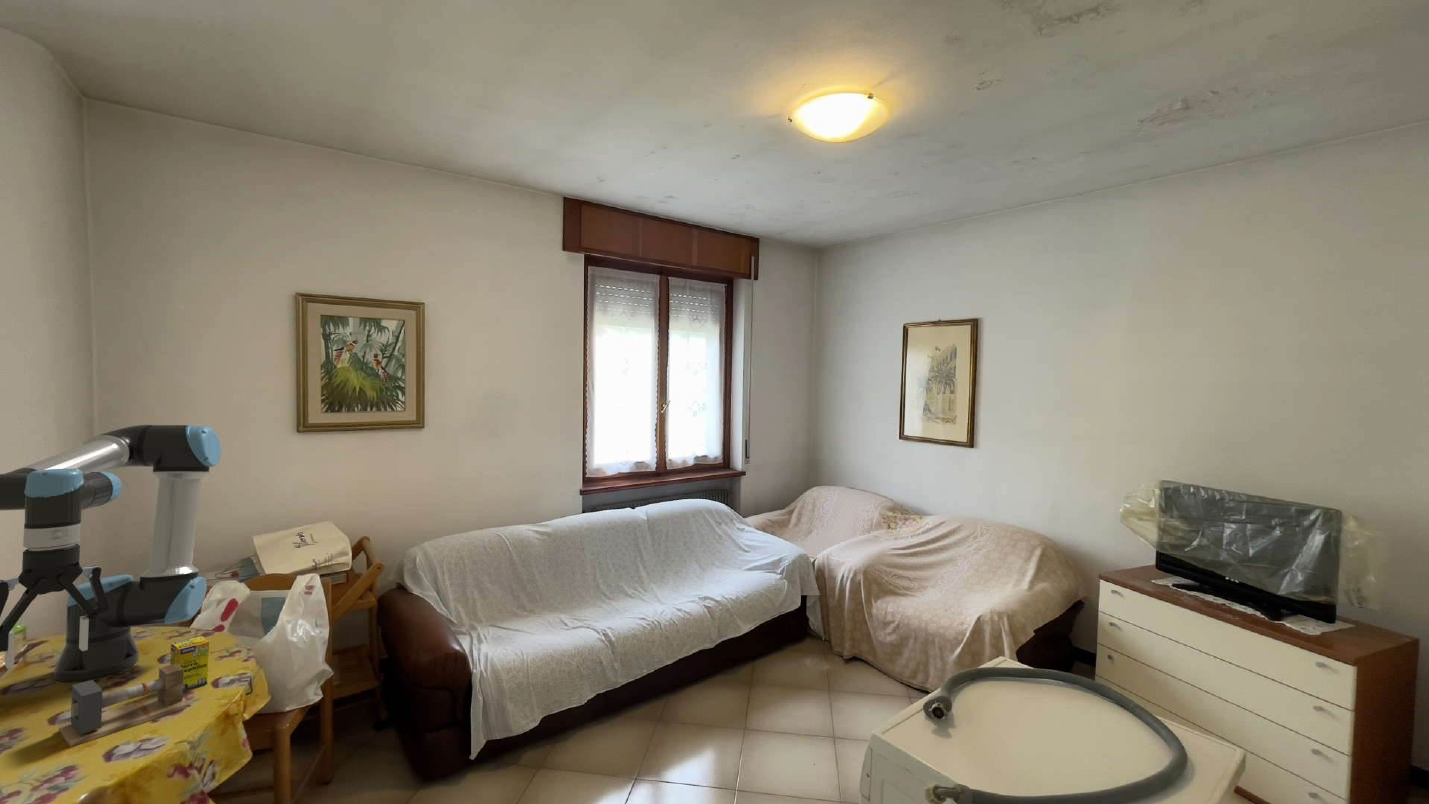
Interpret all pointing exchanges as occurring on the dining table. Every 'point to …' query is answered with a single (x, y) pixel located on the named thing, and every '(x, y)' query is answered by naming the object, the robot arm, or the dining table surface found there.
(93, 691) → the dark grey flat block
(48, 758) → the dining table surface
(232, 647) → the dining table surface
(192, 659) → the supplement box
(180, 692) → the pipe rig
